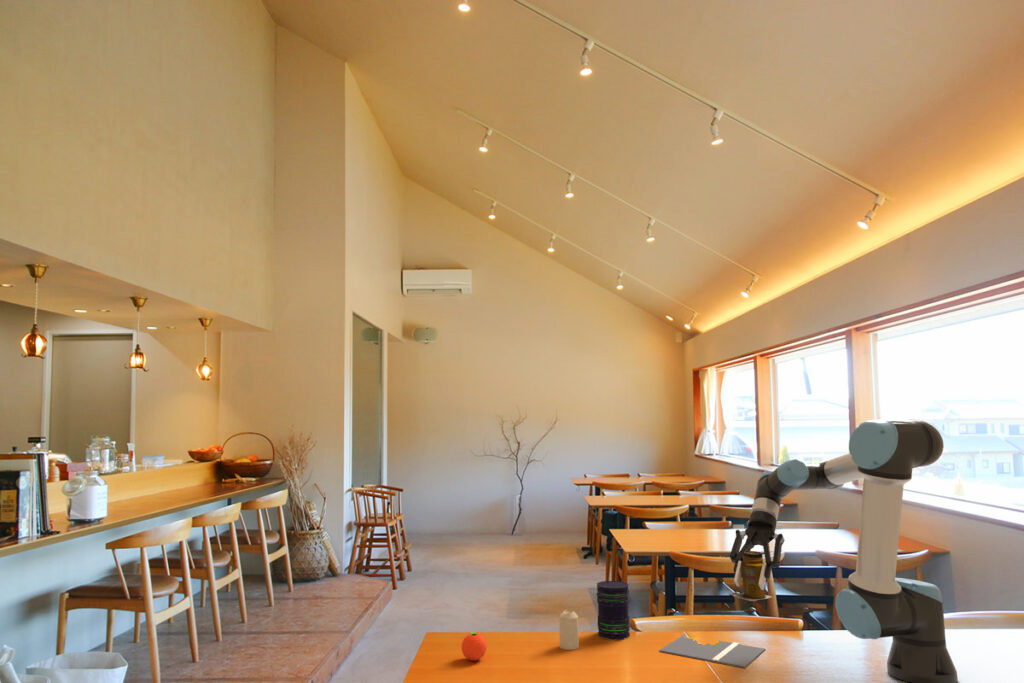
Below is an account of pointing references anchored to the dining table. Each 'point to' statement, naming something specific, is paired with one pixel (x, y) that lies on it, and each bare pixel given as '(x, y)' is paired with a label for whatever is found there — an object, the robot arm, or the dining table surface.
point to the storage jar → (613, 610)
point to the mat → (714, 651)
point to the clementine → (474, 646)
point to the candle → (568, 630)
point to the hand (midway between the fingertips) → (748, 585)
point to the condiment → (752, 577)
